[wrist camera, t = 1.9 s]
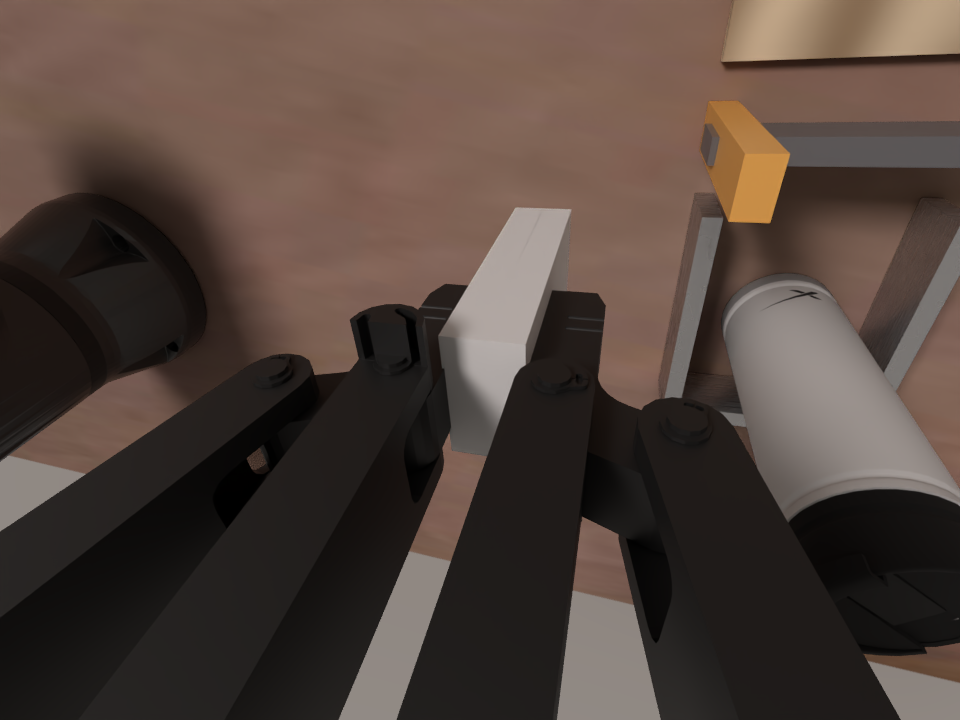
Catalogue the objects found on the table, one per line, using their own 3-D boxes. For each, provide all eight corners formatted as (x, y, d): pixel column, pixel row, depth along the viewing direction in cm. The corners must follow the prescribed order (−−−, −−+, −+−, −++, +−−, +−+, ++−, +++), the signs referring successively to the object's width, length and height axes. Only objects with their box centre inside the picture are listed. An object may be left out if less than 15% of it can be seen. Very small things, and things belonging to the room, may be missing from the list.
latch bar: (693, 150, 27) (720, 221, 19) (702, 101, 26) (735, 153, 17) (978, 151, 24) (1168, 236, 16) (1006, 95, 23) (1231, 155, 14)
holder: (658, 380, 36) (660, 416, 33) (694, 193, 28) (702, 217, 25) (846, 399, 33) (868, 441, 30) (943, 198, 26) (986, 226, 22)
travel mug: (781, 247, 29) (953, 542, 13) (858, 314, 30) (1100, 659, 14) (694, 316, 33) (749, 610, 17) (766, 373, 34) (879, 699, 18)
